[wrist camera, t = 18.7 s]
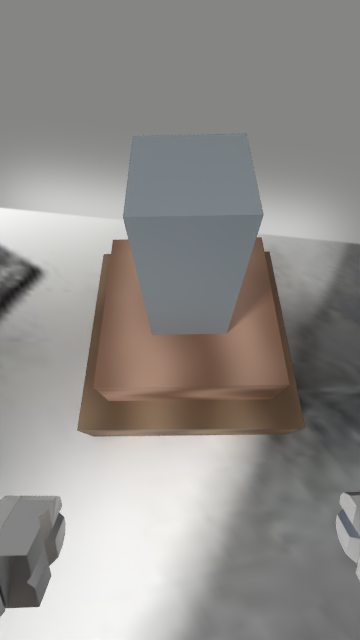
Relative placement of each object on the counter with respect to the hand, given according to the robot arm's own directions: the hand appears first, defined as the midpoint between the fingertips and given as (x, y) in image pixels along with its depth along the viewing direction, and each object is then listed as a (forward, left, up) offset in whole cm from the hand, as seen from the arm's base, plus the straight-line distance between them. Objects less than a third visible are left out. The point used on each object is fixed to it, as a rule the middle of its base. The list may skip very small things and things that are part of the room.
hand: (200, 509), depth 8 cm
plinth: (0, +12, -15) cm, 19 cm away
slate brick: (0, +11, -7) cm, 14 cm away
